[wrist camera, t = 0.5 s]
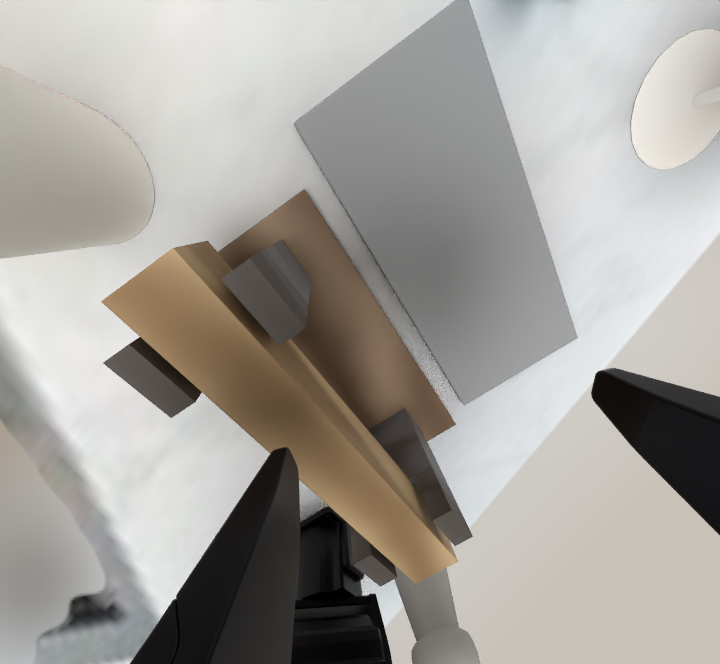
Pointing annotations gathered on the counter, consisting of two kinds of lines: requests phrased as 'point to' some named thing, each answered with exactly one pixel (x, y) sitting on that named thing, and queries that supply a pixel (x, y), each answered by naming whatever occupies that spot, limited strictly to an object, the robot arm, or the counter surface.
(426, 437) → the rail stand
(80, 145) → the cylindrical container
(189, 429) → the counter surface
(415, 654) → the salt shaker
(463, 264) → the grey mat
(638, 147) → the wineglass
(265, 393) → the oak rail
